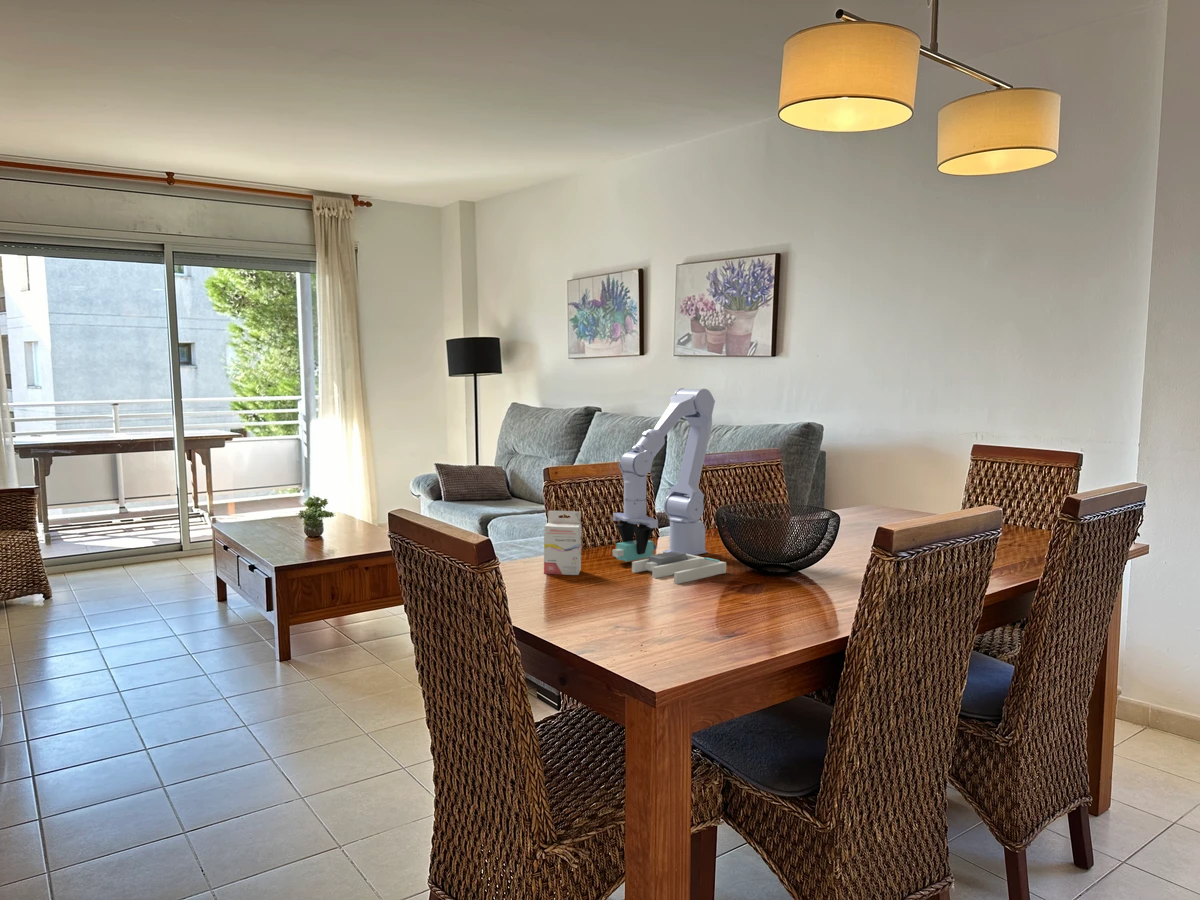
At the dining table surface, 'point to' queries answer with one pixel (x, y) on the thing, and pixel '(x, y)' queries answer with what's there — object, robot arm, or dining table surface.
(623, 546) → the teal plug
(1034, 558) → the dining table surface
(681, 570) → the cable comb
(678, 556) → the grey plug
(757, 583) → the dining table surface
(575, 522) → the ink cartridge box
